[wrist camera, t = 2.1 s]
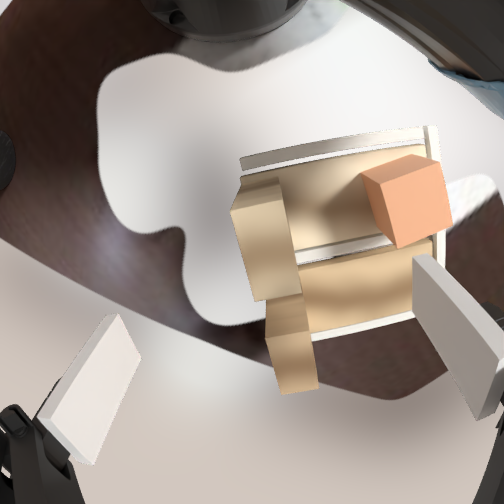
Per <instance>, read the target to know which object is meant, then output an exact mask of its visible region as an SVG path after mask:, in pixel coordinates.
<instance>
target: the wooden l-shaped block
mask: <svg viewBox="0 0 504 504" xmlns="http://www.w3.org/2000/svg"><path fill="white" fill-rule="evenodd" d="M425 253H428V254H429V255H430V256H432V241H431V240H429V239H428V238H423V239H420V240H418V241H416V242H413V243H411V244H408V245H406V246H403V247H401V248H399V249H397V248H396V247H395V245H392V246H387V247H382V248H378V249H373V250H369V251H364V252H359V253H355V254H350V255H345V256H340V257H336V258H331V259H326V260H321V261H316V262H312V263H307V264H302V265H297V267H298V273H299V279H300V284H301V290H302V293H299V294H294V295H288V296H283V297H278V298H273V299H267V300H266V327H265V339H266V343H267V346H268V350H269V353H270V357H271V360H272V364H273V367H274V371H275V374H276V378H277V381H278V385H279V388H280V392H281V394H282V395H283V394H289V393H296V392H302V391H307V390H313V389H318V388H319V385H318V378H317V371H316V365H315V359H314V352H313V346H312V340H311V334H310V333H314V332H319V331H324V330H329V329H333V328H338V327H343V326H347V325H352V324H356V323H361V322H365V321H369V320H373V319H378V318H382V317H386V316H390V315H394V314H398V313H401V312H405V311H409V310H412V257H413V256H417V255H421V254H425Z"/></svg>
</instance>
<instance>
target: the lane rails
mask: <svg viewBox="0 0 504 504" xmlns="http://www.w3.org/2000/svg"><path fill="white" fill-rule="evenodd" d="M415 139H425V146H426V154H427V158H428V159H432V160H435V161H439V162H440V164H441V168H442V163H441V154H440V146H439V139H438V132H437V126H432V125H431V126H423V127H411V128H402V129H394V130H386V131H379V132H372V133H365V134H358V135H352V136H346V137H340V138H334V139H328V140H322V141H317V142H312V143H306V144H301V145H297V146H291V147H286V148H282V149H277V150H272V151H268V152H264V153H259V154H254V155H250V156H246V157H242V158H240V163H241V167H242V170H243V171H244V170H248V169H252V168H257V167H261V166H266V165H270V164H275V163H279V162H284V161H289V160H294V159H299V158H304V157H309V156H314V155H319V154H325V153H329V152H335V151H341V150H347V149H353V148H359V147H365V146H372V145H378V144H385V143H392V142H399V141H407V140H415ZM432 235H433V258H434V259H435V260H436V261H437V262H438V263H439V264H440V265H441V266H442V267H443V268H444V269H445V229H444V230H441V231H439V232H437V233H434V234H432ZM388 244H393V243H392V242H391V241H390V240H389V239H388V238H387V237H386V236H385V235H384V234H383V233H377V234H372V235H367V236H362V237H358V238H353V239H348V240H343V241H338V242H334V243H329V244H324V245H319V246H314V247H309V248H304V249H300V250H295V256H296V262H297V264H298V263H303V262H308V261H313V260H318V259H322V258H327V257H332V256H337V255H342V254H347V253H351V252H356V251H361V250H365V249H370V248H375V247H379V246H384V245H388ZM414 317H415V315H414V314H413V312H412V310H409V311H405V312H401V313H398V314H394V315H390V316H386V317H382V318H378V319H373V320H369V321H365V322H361V323H356V324H352V325H347V326H343V327H338V328H333V329H329V330H324V331H319V332H314V333H310V334H311V340H312V341H316V340H321V339H326V338H331V337H336V336H341V335H345V334H350V333H354V332H359V331H363V330H367V329H371V328H376V327H380V326H384V325H388V324H392V323H395V322H399V321H403V320H407V319H410V318H414Z"/></svg>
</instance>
